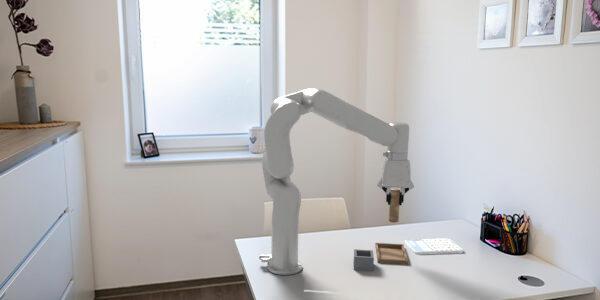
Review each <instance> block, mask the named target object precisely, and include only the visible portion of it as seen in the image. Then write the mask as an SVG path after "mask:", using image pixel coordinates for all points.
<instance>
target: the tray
mask: <svg viewBox="0 0 600 300" xmlns="http://www.w3.org/2000/svg"><path fill="white" fill-rule="evenodd" d="M374 243H375V244H374V247H375V253H376V259H377V263H379V264H389V265H390V264H391V265H394V264H395V265H407V266H408V265H409V258H408V255H407V251H406V248H405V245H404V244H403V243H388V242H387V243H386V242H385V243H384V242H374Z"/></svg>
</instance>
